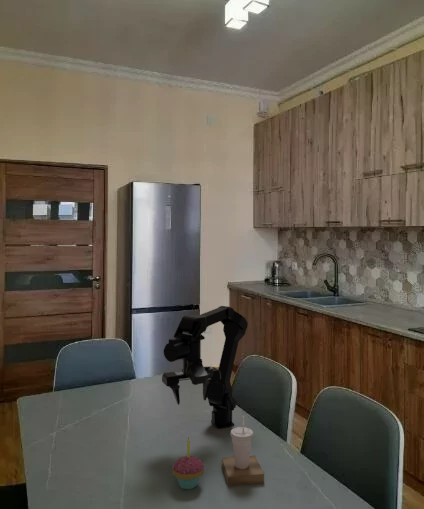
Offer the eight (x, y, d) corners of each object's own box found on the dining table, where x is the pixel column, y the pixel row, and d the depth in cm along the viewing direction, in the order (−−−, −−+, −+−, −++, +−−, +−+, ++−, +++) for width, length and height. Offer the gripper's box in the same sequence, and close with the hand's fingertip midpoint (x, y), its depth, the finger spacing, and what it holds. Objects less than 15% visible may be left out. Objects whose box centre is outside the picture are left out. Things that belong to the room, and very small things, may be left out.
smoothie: (257, 466, 119) (258, 417, 119) (240, 474, 115) (240, 423, 115) (242, 457, 124) (243, 410, 124) (225, 464, 120) (225, 415, 120)
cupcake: (172, 476, 119) (172, 434, 118) (203, 475, 119) (203, 433, 119) (172, 494, 110) (172, 449, 110) (205, 493, 111) (205, 448, 110)
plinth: (221, 466, 124) (221, 457, 124) (255, 463, 125) (255, 455, 125) (227, 485, 114) (227, 476, 114) (264, 483, 115) (264, 474, 115)
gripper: (172, 364, 127) (172, 416, 128) (228, 358, 135) (228, 406, 135) (161, 355, 137) (161, 403, 138) (214, 349, 145) (213, 395, 145)
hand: (191, 402), depth 139 cm, fingers open, 9 cm apart
